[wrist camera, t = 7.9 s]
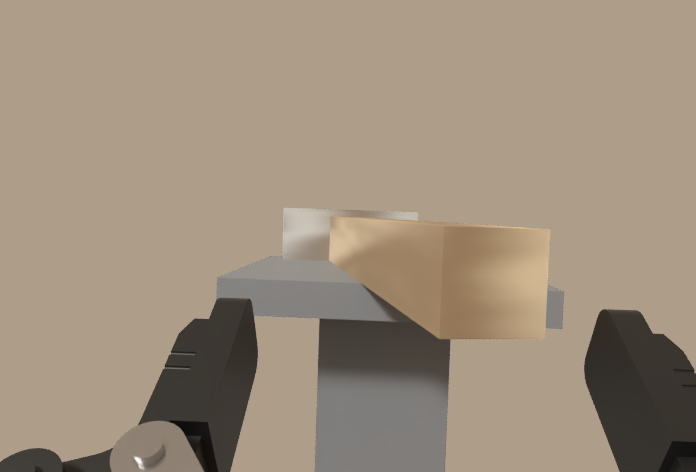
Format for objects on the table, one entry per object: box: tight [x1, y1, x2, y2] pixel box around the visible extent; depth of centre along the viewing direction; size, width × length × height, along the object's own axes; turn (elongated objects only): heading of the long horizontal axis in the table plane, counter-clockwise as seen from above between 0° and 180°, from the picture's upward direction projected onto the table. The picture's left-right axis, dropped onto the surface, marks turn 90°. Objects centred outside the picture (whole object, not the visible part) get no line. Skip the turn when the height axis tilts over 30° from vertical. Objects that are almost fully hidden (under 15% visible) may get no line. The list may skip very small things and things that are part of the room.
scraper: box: [282, 208, 550, 339], centre depth 24 cm, size 8×22×3 cm, turn 9°
